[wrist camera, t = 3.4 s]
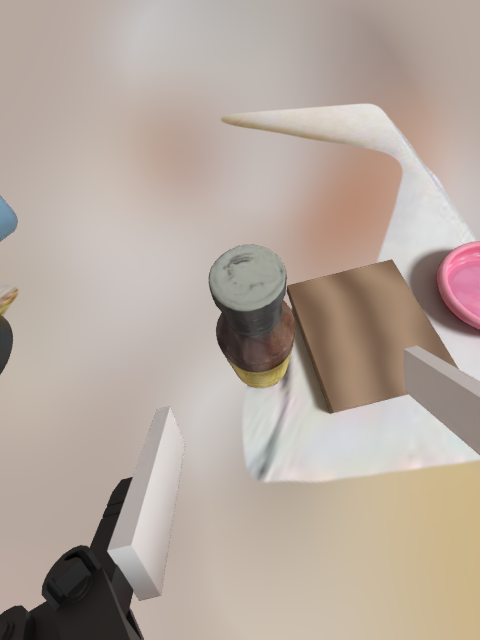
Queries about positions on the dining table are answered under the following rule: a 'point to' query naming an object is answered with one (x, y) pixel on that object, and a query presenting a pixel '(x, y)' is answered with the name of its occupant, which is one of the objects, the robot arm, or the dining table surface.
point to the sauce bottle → (253, 313)
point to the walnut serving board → (362, 332)
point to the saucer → (462, 282)
